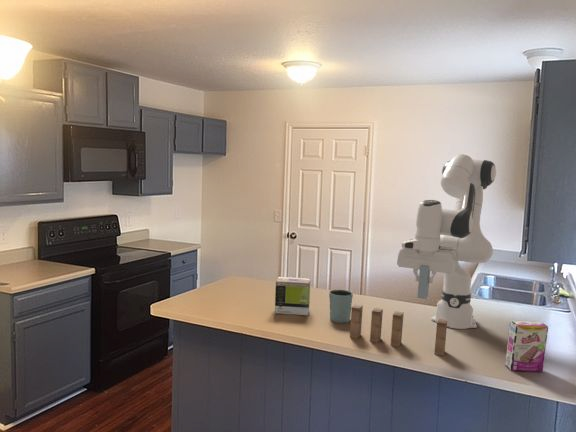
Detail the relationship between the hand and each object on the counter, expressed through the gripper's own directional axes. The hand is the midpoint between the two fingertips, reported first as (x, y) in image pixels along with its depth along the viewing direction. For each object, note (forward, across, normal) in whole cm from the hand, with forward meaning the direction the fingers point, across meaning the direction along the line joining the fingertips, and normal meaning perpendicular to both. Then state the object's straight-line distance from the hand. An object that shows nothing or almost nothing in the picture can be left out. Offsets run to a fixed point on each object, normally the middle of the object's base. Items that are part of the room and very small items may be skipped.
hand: (423, 281), depth 180 cm
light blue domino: (+6, 0, 0) cm, 6 cm away
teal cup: (+26, +36, -16) cm, 47 cm away
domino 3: (+25, +8, 0) cm, 27 cm away
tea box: (+26, +58, -15) cm, 66 cm away
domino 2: (+25, +16, 0) cm, 30 cm away
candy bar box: (+26, -36, 0) cm, 44 cm away
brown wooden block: (+25, -8, 0) cm, 27 cm away
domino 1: (+25, +24, 0) cm, 35 cm away
